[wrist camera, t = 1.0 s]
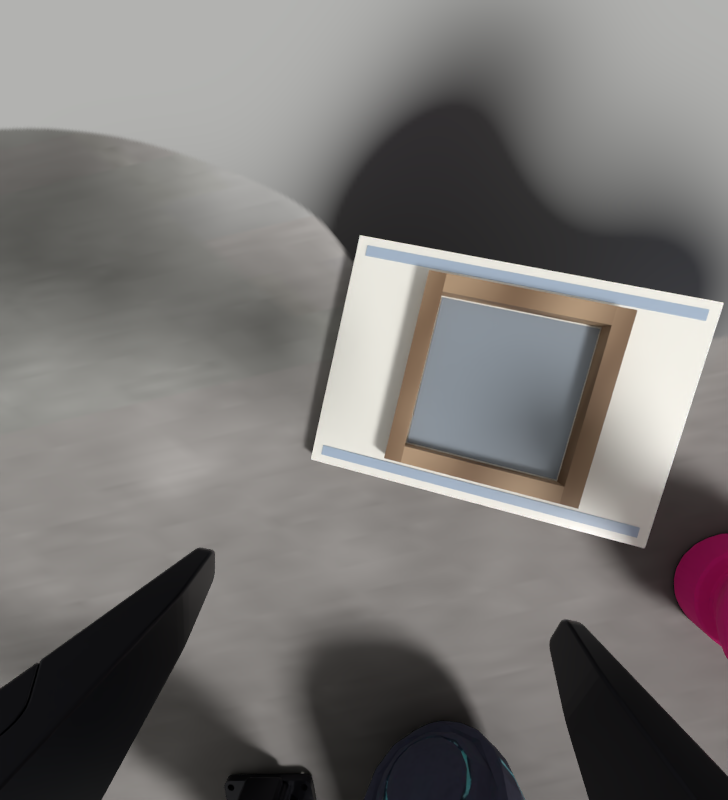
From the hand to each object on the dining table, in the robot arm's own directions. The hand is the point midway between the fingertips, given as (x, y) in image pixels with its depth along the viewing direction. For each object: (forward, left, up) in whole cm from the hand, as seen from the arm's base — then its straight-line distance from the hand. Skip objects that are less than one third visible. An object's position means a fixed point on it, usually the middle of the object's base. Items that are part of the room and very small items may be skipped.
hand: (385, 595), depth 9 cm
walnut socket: (+4, -6, -13) cm, 15 cm away
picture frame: (+4, -6, -14) cm, 16 cm away
